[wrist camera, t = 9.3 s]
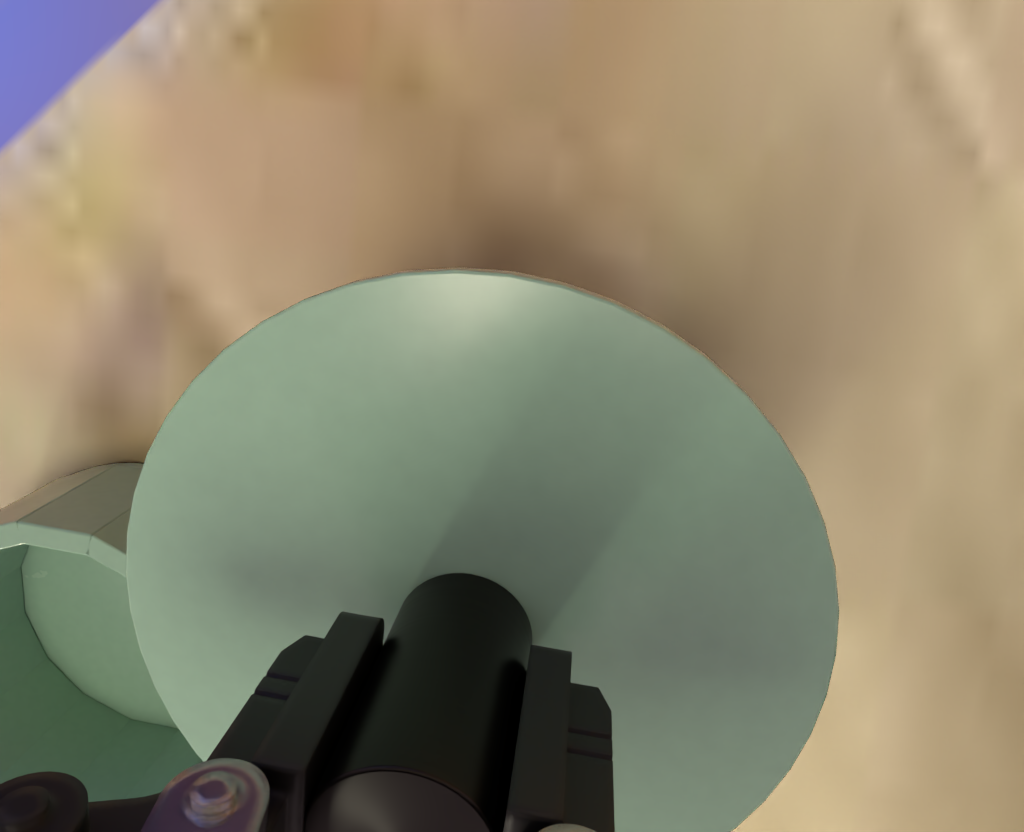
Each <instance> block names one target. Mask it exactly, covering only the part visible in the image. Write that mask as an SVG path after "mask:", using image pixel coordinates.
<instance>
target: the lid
mask: <svg viewBox="0 0 1024 832" xmlns="http://www.w3.org/2000/svg"><path fill="white" fill-rule="evenodd" d="M126 577H127V586H128V595H129V603H130V612H131V616H132V620H133V624H134V628H135V632H136V636H137V640H138V644H139V647H140V651H141V653H142V656H143V658H144V661H145V663H146V666H147V669H148V671H149V674H150V676H151V679H152V681H153V684H154V686H155V688H156V690H157V692H158V694H159V696H160V697H161V699H162V701H163V703H164V705H165V707H166V708H167V710H168V712H169V714H170V716H171V718H172V720H173V721H174V723H175V724H176V726H177V727H178V728H179V730H180V731H181V733H182V734H183V736H184V737H185V738H186V740H187V741H188V743H189V744H190V745H191V747H192V748H193V750H194V751H195V753H196V754H197V755H198V756H199V757H200V758H201V760H202V761H203V762H204V761H207V759H208V758H209V756H210V755H211V753H212V752H213V750H214V749H215V748H216V746H217V745H218V743H219V742H220V740H221V739H222V737H223V736H224V734H225V733H226V731H227V730H228V728H229V727H230V725H231V724H232V723H233V721H234V720H235V718H236V717H237V715H238V714H239V712H240V711H241V709H242V708H243V706H244V705H245V703H246V702H247V701H248V699H249V698H250V696H251V695H252V694H254V692H255V689H256V687H257V686H258V684H259V683H260V681H261V680H262V679H263V677H264V676H265V677H266V674H267V671H268V670H269V668H270V667H271V665H272V664H273V662H274V661H275V659H276V658H277V656H278V655H279V654H280V652H281V651H282V650H284V649H285V648H287V647H288V646H290V645H291V644H293V643H294V642H296V641H297V640H299V639H300V638H302V637H303V636H304V635H308V636H313V637H319V638H325V636H326V635H327V633H328V631H329V630H330V628H331V626H332V625H333V623H334V622H335V620H336V618H337V617H338V615H339V614H340V613H341V612H342V611H344V612H349V613H355V614H361V615H366V616H372V617H378V618H383V619H384V639H383V647H382V649H381V651H380V653H379V655H378V657H377V659H376V662H375V664H374V666H373V668H372V670H371V672H370V674H369V677H368V679H367V681H366V683H365V685H364V687H363V689H362V692H361V694H360V696H359V698H358V700H357V702H356V704H355V707H354V709H353V711H352V713H351V715H350V717H349V719H348V721H347V724H346V726H345V728H344V730H343V732H342V734H341V736H340V739H339V741H338V743H337V745H336V747H335V749H334V751H333V754H332V756H331V758H330V760H329V762H328V764H327V766H326V769H325V771H324V773H323V775H322V777H321V779H320V781H319V783H318V786H317V788H316V790H315V792H314V794H313V796H312V798H311V801H310V803H309V805H308V807H307V810H306V814H305V821H304V832H503V829H504V822H505V815H506V809H507V802H508V795H509V788H510V781H511V774H512V768H513V761H514V754H515V747H516V740H517V734H518V727H519V720H520V713H521V706H522V699H523V693H524V686H525V679H526V672H527V666H528V660H529V653H530V647H531V644H532V645H537V646H543V647H548V648H554V649H560V650H565V651H571V652H572V664H571V683H576V684H582V685H587V686H593V687H598V688H599V689H600V691H601V693H602V695H603V696H604V698H605V700H606V702H607V704H608V706H609V707H610V709H611V711H612V749H613V757H612V761H613V786H614V823H615V832H731V831H732V830H734V829H735V828H736V827H737V826H739V825H740V824H741V823H742V822H743V821H744V820H745V819H746V818H747V817H748V816H749V815H750V814H751V813H752V812H753V811H755V810H756V809H757V808H758V807H759V806H760V805H761V804H762V803H763V802H764V801H765V800H766V799H767V798H768V796H769V795H770V794H771V793H772V791H773V790H774V789H775V788H776V786H777V785H778V784H779V783H780V781H781V780H782V779H783V778H784V777H785V775H786V774H787V773H788V772H789V770H790V769H791V767H792V766H793V764H794V762H795V760H796V759H797V757H798V755H799V754H800V752H801V750H802V749H803V747H804V745H805V744H806V742H807V740H808V738H809V737H810V735H811V733H812V730H813V728H814V725H815V723H816V720H817V718H818V715H819V713H820V711H821V708H822V706H823V703H824V701H825V698H826V695H827V691H828V686H829V682H830V678H831V674H832V669H833V665H834V661H835V656H836V647H837V633H838V619H839V604H838V593H837V581H836V570H835V563H834V559H833V555H832V551H831V547H830V543H829V539H828V535H827V531H826V527H825V523H824V520H823V518H822V515H821V513H820V510H819V508H818V506H817V503H816V501H815V498H814V496H813V494H812V491H811V489H810V486H809V484H808V481H807V479H806V477H805V475H804V474H803V472H802V470H801V469H800V467H799V465H798V464H797V462H796V460H795V459H794V457H793V455H792V454H791V452H790V450H789V449H788V447H787V445H786V444H785V442H784V440H783V439H782V437H781V435H780V434H779V433H778V431H777V430H776V429H775V427H774V426H773V425H772V424H771V422H770V421H769V420H768V419H767V417H766V416H765V415H764V414H763V413H762V411H761V410H760V409H759V408H758V407H757V405H756V404H755V403H754V402H753V400H752V399H751V398H750V397H749V396H748V394H747V393H746V392H745V391H744V389H743V388H741V387H740V386H739V385H738V384H737V383H736V382H735V381H734V380H733V379H732V378H731V377H730V376H728V375H727V374H726V373H725V372H724V371H723V370H722V369H721V368H720V367H719V366H718V365H717V364H715V363H714V362H713V361H712V360H711V359H710V358H709V357H708V356H707V355H706V354H704V353H703V352H701V351H700V350H699V349H697V348H696V347H694V346H693V345H691V344H690V343H688V342H687V341H686V340H684V339H683V338H681V337H680V336H678V335H677V334H676V333H674V332H673V331H671V330H670V329H668V328H667V327H665V326H664V325H663V324H661V323H659V322H657V321H655V320H653V319H651V318H649V317H647V316H645V315H643V314H641V313H639V312H637V311H635V310H633V309H631V308H629V307H628V306H626V305H624V304H622V303H620V302H618V301H616V300H613V299H611V298H608V297H605V296H602V295H599V294H597V293H594V292H591V291H588V290H585V289H582V288H580V287H577V286H574V285H571V284H568V283H565V282H562V281H557V280H552V279H547V278H543V277H538V276H533V275H528V274H524V273H519V272H514V271H504V270H491V269H478V268H464V267H453V268H437V269H420V270H407V271H402V272H397V273H392V274H387V275H382V276H377V277H372V278H366V279H361V280H357V281H355V282H352V283H349V284H346V285H343V286H340V287H337V288H335V289H332V290H329V291H326V292H323V293H320V294H318V295H315V296H312V297H309V298H307V299H304V300H302V301H300V302H298V303H297V304H295V305H293V306H291V307H289V308H287V309H285V310H283V311H281V312H279V313H277V314H276V315H274V316H272V317H270V318H268V319H266V320H264V321H262V322H261V323H259V324H258V325H257V326H255V327H254V328H252V329H251V330H250V331H248V332H247V333H246V334H244V335H243V336H242V337H240V338H239V339H237V340H236V341H235V342H233V343H232V344H231V345H229V346H228V347H226V348H225V349H224V350H223V351H222V352H221V353H220V354H219V355H218V356H217V357H216V358H215V359H214V360H213V361H212V362H211V363H210V364H209V365H208V366H207V367H206V368H205V369H204V370H203V371H202V372H201V373H200V374H199V375H198V376H197V377H196V378H195V379H194V380H193V381H192V382H191V383H190V385H189V386H188V388H187V389H186V390H185V392H184V393H183V394H182V396H181V397H180V398H179V400H178V401H177V403H176V404H175V405H174V407H173V408H172V409H171V411H170V412H169V413H168V415H167V416H166V418H165V420H164V422H163V424H162V426H161V428H160V430H159V432H158V434H157V436H156V438H155V440H154V441H153V443H152V445H151V447H150V449H149V451H148V453H147V456H146V459H145V462H144V465H143V468H142V471H141V474H140V477H139V480H138V483H137V486H136V489H135V492H134V496H133V502H132V507H131V513H130V519H129V524H128V530H127V553H126Z"/></svg>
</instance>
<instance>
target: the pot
mask: <svg viewBox="0 0 1024 832" xmlns="http://www.w3.org/2000/svg"><path fill="white" fill-rule="evenodd" d="M143 465H144V464H140V463H114V464H107V465H101V466H95V467H92V468H89V469H86V470H83V471H79V472H77V473H75V474H73V475H68V476H64V477H60V478H58V479H57V480H55V481H53V482H51V483H49V484H47V485H45V486H43V487H42V488H40V489H38V490H36V491H34V492H32V493H30V494H29V495H27V496H25V497H23V498H21V499H19V500H17V501H15V502H14V503H12V504H10V505H8V506H6V507H4V508H2V509H1V510H0V784H2V783H4V782H6V781H8V780H11V779H13V778H16V777H19V776H23V775H26V774H31V773H36V772H47V771H51V772H61V773H66V774H69V775H72V776H74V777H76V778H77V779H79V780H80V781H81V782H82V783H83V784H84V786H85V788H86V790H87V793H88V802H94V801H106V800H117V799H129V798H138V797H145V796H149V795H153V794H157V793H160V792H162V791H163V789H164V788H165V786H166V785H167V784H168V783H169V782H170V781H171V780H172V779H173V778H174V777H175V776H177V775H178V774H179V773H181V772H182V771H184V770H185V769H187V768H189V767H191V766H193V765H196V764H198V763H201V762H203V761H202V760H201V758H200V757H199V756H198V755H197V754H196V753H195V751H194V750H193V748H192V747H191V745H190V744H189V743H188V741H187V740H186V738H185V737H184V736H183V734H182V733H181V731H180V730H179V728H178V727H177V726H176V724H175V723H174V721H173V720H172V718H171V716H170V714H169V712H168V710H167V708H166V707H165V705H164V703H163V701H162V699H161V697H160V696H159V694H158V692H157V690H156V688H155V686H154V684H153V681H152V679H151V676H150V674H149V671H148V669H147V666H146V663H145V661H144V658H143V656H142V653H141V651H140V647H139V644H138V640H137V636H136V632H135V628H134V624H133V620H132V616H131V612H130V603H129V595H128V586H127V577H126V553H127V530H128V524H129V519H130V513H131V507H132V502H133V496H134V492H135V489H136V486H137V483H138V480H139V477H140V474H141V471H142V468H143Z"/></svg>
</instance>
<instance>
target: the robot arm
mask: <svg viewBox="0 0 1024 832" xmlns="http://www.w3.org/2000/svg"><path fill="white" fill-rule="evenodd" d="M383 639H384V619H383V618H378V617H372V616H366V615H361V614H355V613H349V612H344V611H342V612H341V613H340V614H339V615H338V617H337V618H336V620H335V622H334V623H333V625H332V626H331V628H330V630H329V631H328V633H327V635H326V636H325V638H319V637H313V636H308V635H304V636H303V637H302V638H300V639H299V640H297V641H296V642H294V643H293V644H291V645H290V646H288V647H287V648H285V649H284V650H282V651H281V652H280V654H279V655H278V656H277V658H276V659H275V661H274V662H273V664H272V665H271V667H270V668H269V670H268V671H267V674H266V677H265V676H264V677H263V679H262V680H261V681H260V683H259V684H258V686H257V687H256V689H255V692H254V694H252V695H251V696H250V698H249V699H248V701H247V702H246V703H245V705H244V706H243V708H242V709H241V711H240V712H239V714H238V715H237V717H236V718H235V720H234V721H233V723H232V724H231V725H230V727H229V728H228V730H227V731H226V733H225V734H224V736H223V737H222V739H221V740H220V742H219V743H218V745H217V746H216V748H215V749H214V750H213V752H212V753H211V755H210V756H209V758H208V759H207V761H204V762H201V763H198V764H196V765H193V766H191V767H189V768H187V769H185V770H184V771H182V772H181V773H179V774H178V775H177V776H175V777H174V778H173V779H172V780H171V781H170V782H169V783H168V784H167V785H166V786H165V788H164V789H163V791H162V792H160V793H157V794H153V795H149V796H145V797H138V798H129V799H117V800H106V801H94V802H88V793H87V790H86V788H85V786H84V784H83V783H82V782H81V781H80V780H79V779H77V778H76V777H74V776H72V775H69V774H66V773H61V772H51V771H47V772H36V773H31V774H26V775H23V776H19V777H16V778H13V779H11V780H8V781H6V782H4V783H2V784H0V832H304V821H305V814H306V810H307V807H308V805H309V803H310V801H311V798H312V796H313V794H314V792H315V790H316V788H317V786H318V783H319V781H320V779H321V777H322V775H323V773H324V771H325V769H326V766H327V764H328V762H329V760H330V758H331V756H332V754H333V751H334V749H335V747H336V745H337V743H338V741H339V739H340V736H341V734H342V732H343V730H344V728H345V726H346V724H347V721H348V719H349V717H350V715H351V713H352V711H353V709H354V707H355V704H356V702H357V700H358V698H359V696H360V694H361V692H362V689H363V687H364V685H365V683H366V681H367V679H368V677H369V674H370V672H371V670H372V668H373V666H374V664H375V662H376V659H377V657H378V655H379V653H380V651H381V649H382V647H383ZM571 664H572V652H571V651H565V650H560V649H554V648H548V647H543V646H537V645H532V644H531V647H530V653H529V660H528V666H527V672H526V679H525V686H524V693H523V699H522V706H521V713H520V720H519V727H518V734H517V740H516V747H515V754H514V761H513V768H512V774H511V781H510V788H509V795H508V802H507V809H506V815H505V822H504V829H503V832H615V823H614V786H613V761H612V757H613V749H612V711H611V709H610V707H609V706H608V704H607V702H606V700H605V698H604V696H603V695H602V693H601V691H600V689H599V688H598V687H593V686H587V685H582V684H576V683H571Z"/></svg>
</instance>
